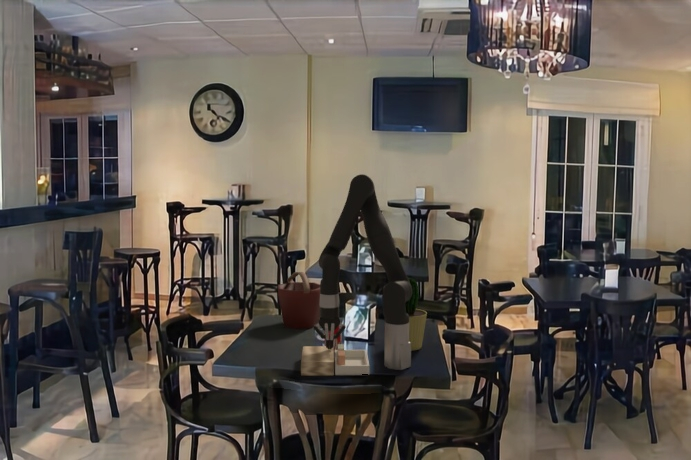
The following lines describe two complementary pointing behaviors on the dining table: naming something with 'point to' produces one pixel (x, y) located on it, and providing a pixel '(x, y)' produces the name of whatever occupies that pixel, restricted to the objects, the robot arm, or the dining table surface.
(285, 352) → the dining table surface
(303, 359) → the wooden block
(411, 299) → the potted cactus
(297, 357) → the dining table surface
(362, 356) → the box
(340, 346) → the sage tile
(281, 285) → the bucket
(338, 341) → the soda can
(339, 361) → the terracotta tile
